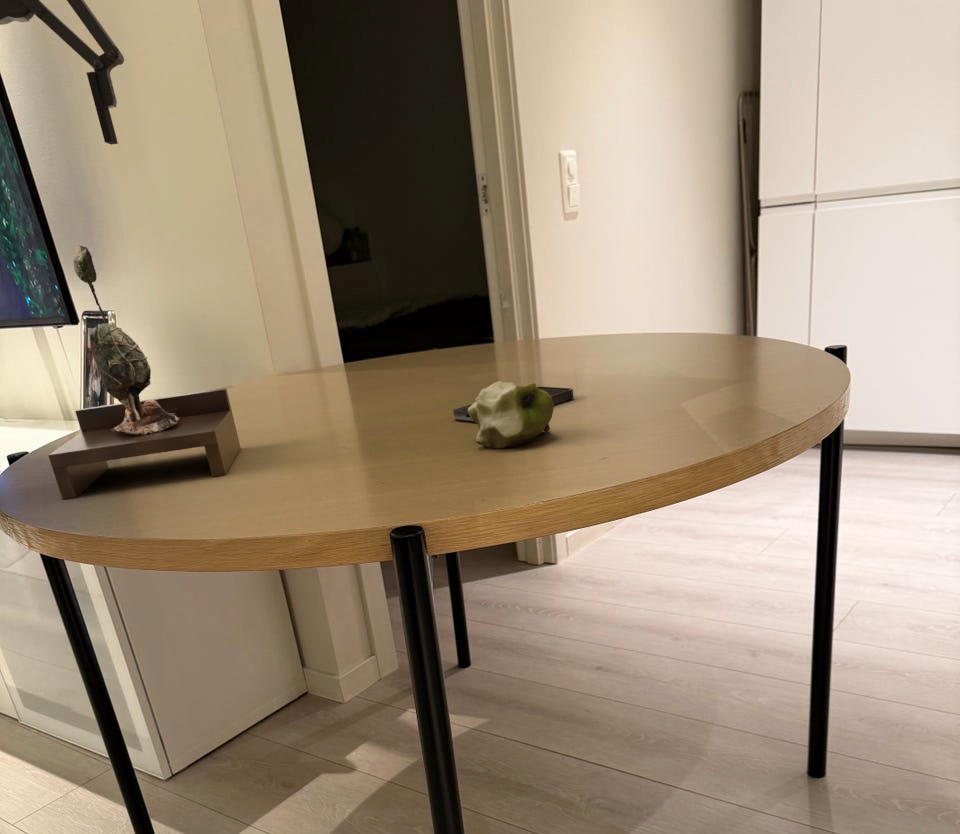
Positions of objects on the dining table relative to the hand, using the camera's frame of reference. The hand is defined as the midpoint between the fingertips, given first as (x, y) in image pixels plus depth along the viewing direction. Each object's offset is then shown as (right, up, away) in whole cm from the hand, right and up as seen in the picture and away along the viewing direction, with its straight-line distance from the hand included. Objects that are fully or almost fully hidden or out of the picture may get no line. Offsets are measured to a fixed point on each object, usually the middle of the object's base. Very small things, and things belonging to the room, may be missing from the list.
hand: (49, 151), depth 97 cm
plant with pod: (+9, -29, +6) cm, 31 cm away
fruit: (+51, -32, -1) cm, 60 cm away
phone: (+52, -24, +16) cm, 59 cm away
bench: (+9, -34, +8) cm, 36 cm away
